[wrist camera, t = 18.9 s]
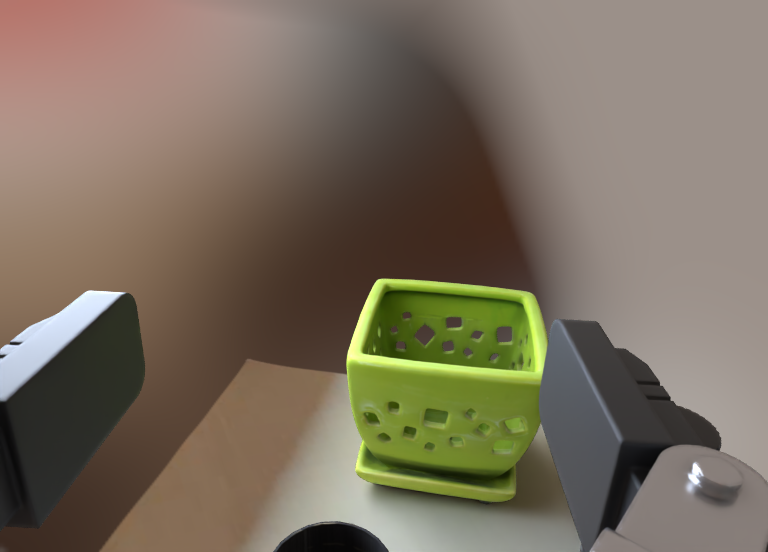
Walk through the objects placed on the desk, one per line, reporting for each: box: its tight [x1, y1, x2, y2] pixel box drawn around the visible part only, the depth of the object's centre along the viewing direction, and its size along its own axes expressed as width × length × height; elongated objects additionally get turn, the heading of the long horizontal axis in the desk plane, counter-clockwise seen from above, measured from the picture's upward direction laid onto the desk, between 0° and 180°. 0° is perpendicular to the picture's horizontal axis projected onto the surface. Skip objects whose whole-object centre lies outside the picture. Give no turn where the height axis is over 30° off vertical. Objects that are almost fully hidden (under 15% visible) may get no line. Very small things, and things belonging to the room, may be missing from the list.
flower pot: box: [347, 279, 548, 504], centre depth 45 cm, size 14×14×13 cm
